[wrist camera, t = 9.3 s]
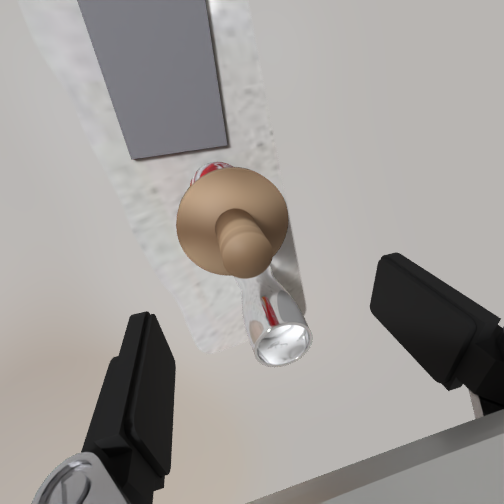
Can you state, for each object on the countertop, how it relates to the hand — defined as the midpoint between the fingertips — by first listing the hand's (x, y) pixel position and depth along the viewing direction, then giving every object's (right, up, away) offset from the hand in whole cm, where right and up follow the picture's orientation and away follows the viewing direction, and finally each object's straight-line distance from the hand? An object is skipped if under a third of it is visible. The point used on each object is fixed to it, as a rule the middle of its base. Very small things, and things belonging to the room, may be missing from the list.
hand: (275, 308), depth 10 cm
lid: (-3, +5, +10) cm, 12 cm away
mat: (-10, +20, +15) cm, 27 cm away
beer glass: (-1, -1, +29) cm, 29 cm away
